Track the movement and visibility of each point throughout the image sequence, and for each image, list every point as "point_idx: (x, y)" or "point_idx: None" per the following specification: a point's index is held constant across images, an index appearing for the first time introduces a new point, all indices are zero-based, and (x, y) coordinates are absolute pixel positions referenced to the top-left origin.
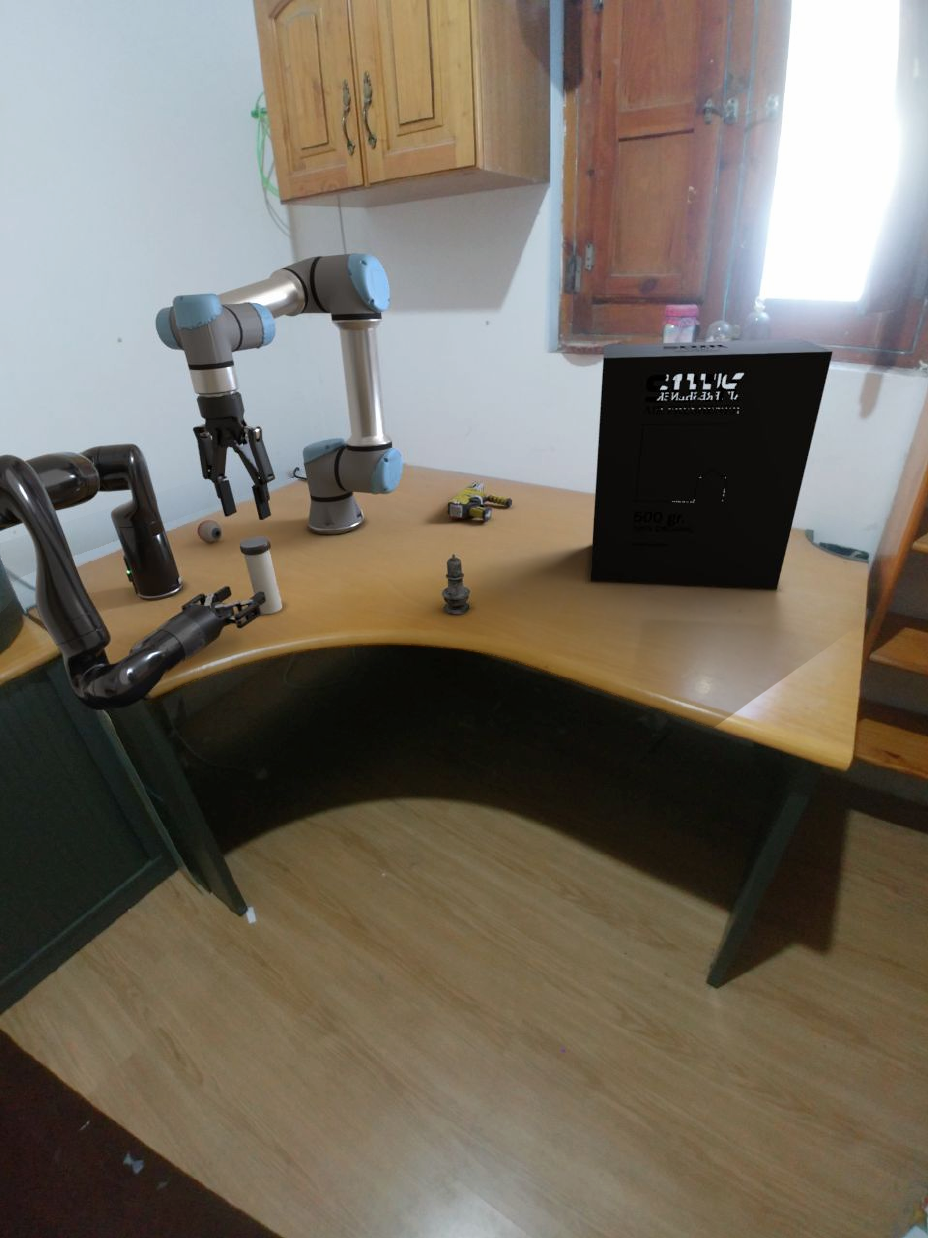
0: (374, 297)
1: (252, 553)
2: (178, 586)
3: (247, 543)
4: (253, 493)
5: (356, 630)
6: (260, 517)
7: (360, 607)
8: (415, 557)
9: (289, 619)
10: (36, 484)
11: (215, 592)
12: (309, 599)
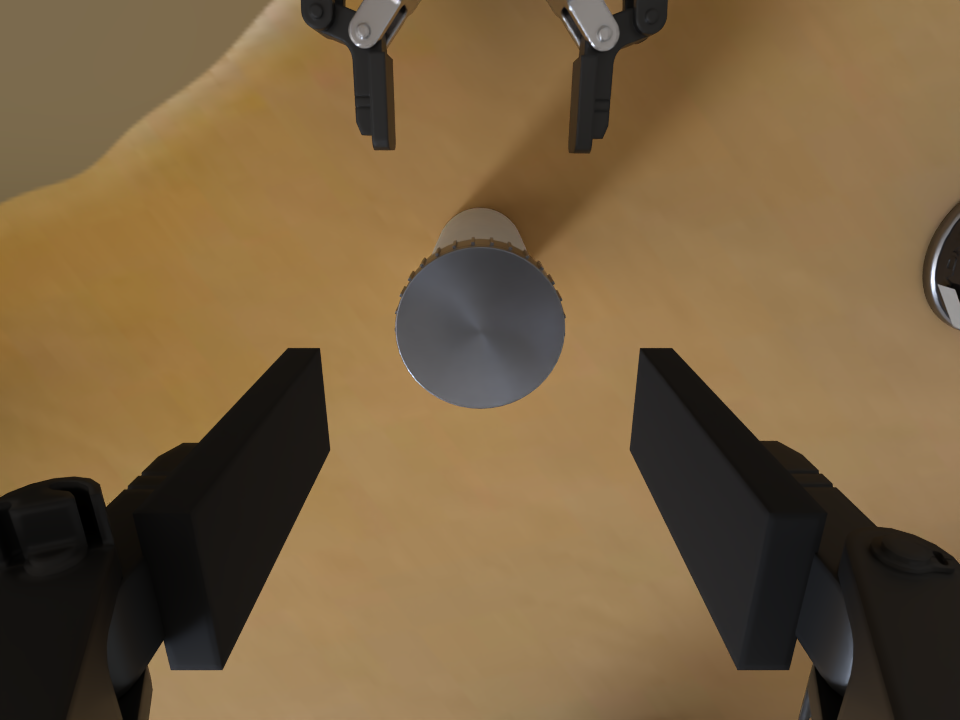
0: None
1: (444, 247)
2: (937, 277)
3: (505, 300)
4: (226, 462)
5: (79, 201)
6: (295, 354)
7: (176, 345)
8: (229, 668)
9: (360, 202)
10: None
11: (596, 65)
12: (385, 348)
